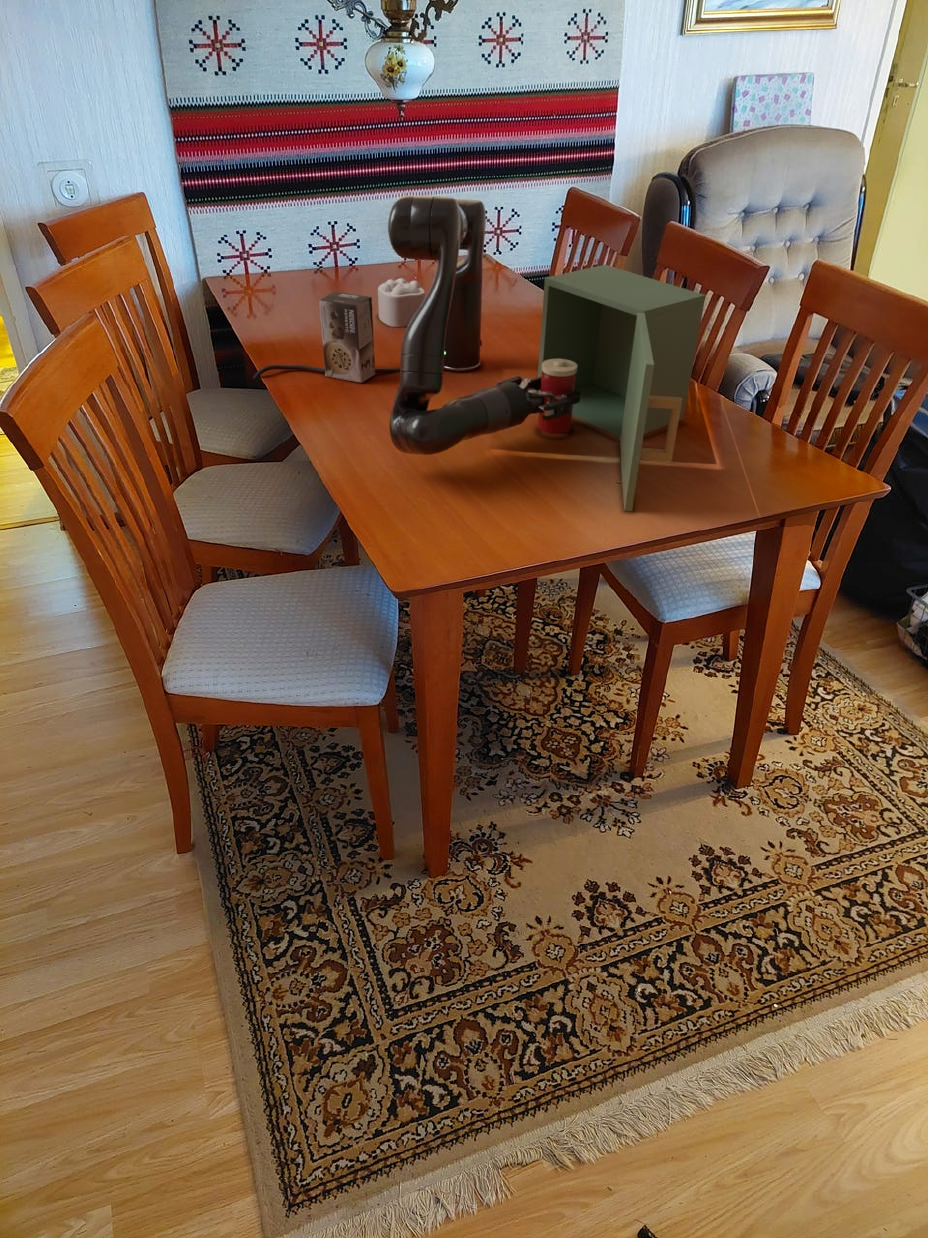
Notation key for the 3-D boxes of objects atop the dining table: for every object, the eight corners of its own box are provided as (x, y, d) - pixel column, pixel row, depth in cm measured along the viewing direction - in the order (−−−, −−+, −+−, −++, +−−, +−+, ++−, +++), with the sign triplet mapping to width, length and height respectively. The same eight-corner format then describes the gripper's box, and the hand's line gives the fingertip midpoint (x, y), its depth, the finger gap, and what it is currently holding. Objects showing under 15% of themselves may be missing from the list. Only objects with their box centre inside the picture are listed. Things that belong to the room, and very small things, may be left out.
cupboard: (625, 445, 161) (644, 310, 147) (535, 403, 176) (544, 277, 162) (682, 424, 170) (705, 294, 155) (591, 385, 185) (605, 264, 170)
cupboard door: (654, 448, 160) (676, 314, 146) (664, 513, 141) (690, 366, 126) (619, 446, 161) (637, 312, 147) (624, 511, 141) (645, 364, 127)
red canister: (536, 438, 163) (541, 365, 155) (537, 424, 168) (542, 353, 160) (570, 440, 163) (577, 367, 154) (571, 426, 168) (578, 355, 160)
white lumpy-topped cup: (389, 328, 212) (388, 291, 207) (371, 312, 222) (370, 276, 216) (429, 323, 216) (429, 286, 210) (410, 308, 225) (409, 272, 220)
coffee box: (376, 373, 188) (373, 296, 178) (361, 384, 183) (357, 304, 173) (339, 366, 191) (334, 290, 181) (323, 376, 186) (317, 298, 176)
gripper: (523, 401, 146) (592, 380, 155) (469, 375, 155) (537, 357, 163) (521, 443, 151) (588, 420, 159) (468, 416, 159) (534, 395, 168)
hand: (562, 388), depth 161 cm, fingers open, 8 cm apart
